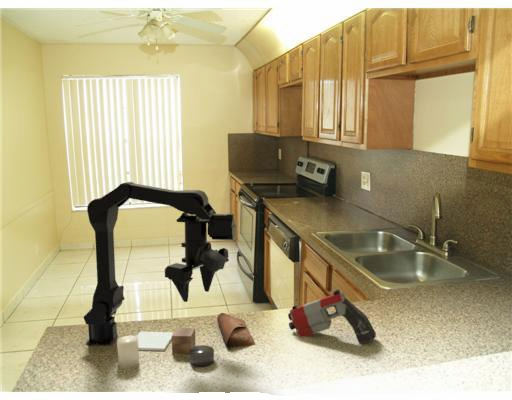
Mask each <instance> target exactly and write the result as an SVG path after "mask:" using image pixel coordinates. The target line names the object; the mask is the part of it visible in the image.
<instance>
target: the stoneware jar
mask: <svg viewBox="0 0 512 400" xmlns="http://www.w3.org/2000/svg"><path fill="white" fill-rule="evenodd" d="M136 336H137V335H124V336H122V337H120V338H119V337H118V339H117V340H116V343H117V347H116V348H117V364H118V367H119V368H121V369H122V368H123V369H129V368H130V369H131V368H134V367H136V366H138V365H139V363H140V352H139V351H140V350H139V345H138V337H136Z"/></svg>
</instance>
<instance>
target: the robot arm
mask: <svg viewBox="0 0 512 400" xmlns="http://www.w3.org/2000/svg"><path fill="white" fill-rule="evenodd" d="M129 199H131V200H138V201H142V202H148V203H154V204H159V205H164V206H169V207H171V208H173V209H176V210H177V211H179V212H182V213H181V215H180V216H179V217H178V218H177V219H176V223H184V242H181V248H184V257H182V258H181V263H179V262H175V263H173V264H169V265H167V266H166V267H165V268H164V277H165V278H167V279H168V280H170V281H171V282H172V283H173V285H174V287H175V288H176V290H177V292H178V293H179V296H180V297H181V299H182V301H183V302H184V303H187V302H188V301H189V294H190V293H189V291H190V290H189V289H190V288H189V287H190V283H191V281H192V280H193V279H194V277H192V276H193V272H194V270H196V269H199V271H200V275H201V276H200V277H201V281H202V285H203V289H204V292H207V293H208V292H210V289H211V285H212V283H213V278H214V277H215V274H216V272H218V271H220V270H224V269H225V265H226V263H228V262H229V250H228V249H227V248H225V247H222V248H219V249H213V248H212V244H211V241H208V237H209V238H211V240H218V241H220V240H221V241H222V240H223V241H235V239H236V235H237V224H236V220H235V214H234V213H217V212H216V211H215V209H214V208H213V207H212V205H211V204H210V202H209V197H208V195H207V194H206V192H204V191H203V190H201V189H182V190H173V189H167V188H161V187H156V186H150V185H145V184H141V183H140V184H139V183H135V182H133V181H126V182H122V183H120V184H119V185H118V186H117V187H115V188H114V189H112V190H111V191H110V192H108V193H106V194H104V195H103V196H101V197H99V198H95V199H93V200H91V201H90V202H89V203H87V208H86V211H87V216H88V221H89V224H90V225H91V227H92V229H93V231H94V238H95V261H96V262H95V263H96V280H97V283H96V286H95V289H94V293H93V297H92V302H91V308H90V310H89V311H87V312H86V314H85V315H84V316H83V320H84V322H85V324H86V325H87V327H88V340H87V341H86V342H85V343H86V345H92V346H93V345H95V346H96V345H97V346H98V345H99V346H103V345H104V346H109V345H111V344H112V342H113V341H115V339H116V338H117V337H118V335H119V334H118V332H117V331H118V327H117V322H116V320H115V319H116V317H115V316H113V315H115V314H117V310H118V309H119V308H120V307H121V306H122V305H123V301H124V300H125V299H126V298H125V296H124V289H125V287H124V285H119V284H118V282H117V280H116V262H115V259H116V257H115V238H114V237H115V236H114V229H115V227H116V224H117V221H118V218H119V217H118V216H119V209H120V207H121V206H123V205H124V204H126V202H128V201H129ZM183 263H184V264H183Z"/></svg>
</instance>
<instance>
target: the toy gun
mask: <svg viewBox="0 0 512 400" xmlns="http://www.w3.org/2000/svg"><path fill="white" fill-rule="evenodd" d="M332 307H333V308H334V309H335V311H334V312H331V313H329V311H328V309H329V308H332ZM287 316H288V320H289V321H290V322H288V327H289V329H290V330H294V329H295V331H296V334H297V336H298V337H301V338H304V337H308V336H310V335H313V334H316V333H317V334H318V333H319V332H323V331H326V330H329V329H330V327H331V324H332V320H333V319H335V318H339V317H341V316H342V317H343V318H344V319H345V320H346V321H347V323H348V324H349V325H350V326H351V328H352V329H353V331H354V334H355V336H356V339H357V342H358V343H360V344H365V343H368V342H371V341H373V340H374V339H375V338H377V337H376V335H377V333H376V331H375V328H374V327H373V325H372V324H371V322H370V320H369V318H368V316H367V315H366V314H365V313H364V312H363V311H361V310H360V309H359V308H358V307H357V306H355V304H353V303H352V302H351V301H350V300H349V299H348V298H347V297H346V294H345V292H344V291H343V290H341V291H340V289H335V290H333V292H332V294H330V295H327V296H325V297H322V298H319V299H316V300H312V301H311V302H308V303H304V304H302V305H299V306H297V304H296V305H293V306H292V309H290V310H289V313H288V314H287Z"/></svg>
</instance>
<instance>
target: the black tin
mask: <svg viewBox="0 0 512 400" xmlns="http://www.w3.org/2000/svg"><path fill="white" fill-rule="evenodd" d="M214 362H215V349H214V348H213V347H212V346H209V345H196V346H195V347H193V348H191V349H190V355H189V365H190V366H192V367H194V368H203V369H204V368H207V367H210V366H212V365H213V364H214Z"/></svg>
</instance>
